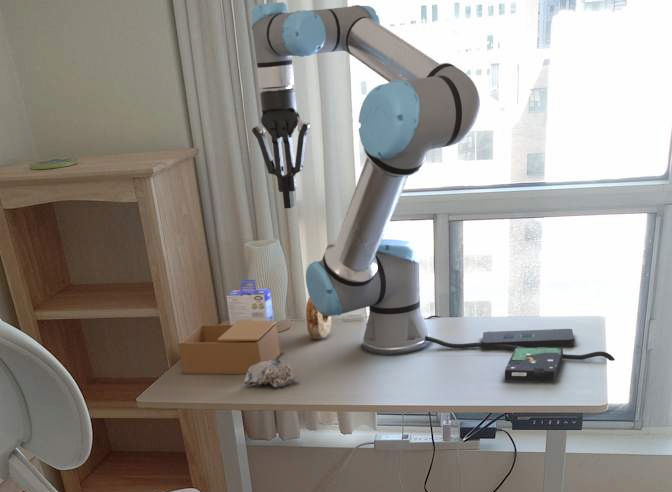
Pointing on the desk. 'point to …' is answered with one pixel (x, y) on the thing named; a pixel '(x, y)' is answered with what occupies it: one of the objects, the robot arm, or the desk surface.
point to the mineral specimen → (269, 374)
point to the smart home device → (529, 338)
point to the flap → (247, 331)
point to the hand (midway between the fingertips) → (289, 206)
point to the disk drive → (534, 364)
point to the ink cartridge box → (249, 304)
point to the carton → (225, 351)
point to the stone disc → (317, 322)
